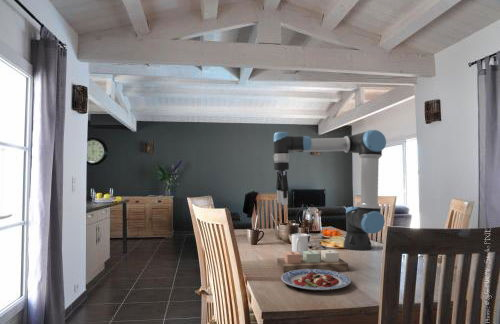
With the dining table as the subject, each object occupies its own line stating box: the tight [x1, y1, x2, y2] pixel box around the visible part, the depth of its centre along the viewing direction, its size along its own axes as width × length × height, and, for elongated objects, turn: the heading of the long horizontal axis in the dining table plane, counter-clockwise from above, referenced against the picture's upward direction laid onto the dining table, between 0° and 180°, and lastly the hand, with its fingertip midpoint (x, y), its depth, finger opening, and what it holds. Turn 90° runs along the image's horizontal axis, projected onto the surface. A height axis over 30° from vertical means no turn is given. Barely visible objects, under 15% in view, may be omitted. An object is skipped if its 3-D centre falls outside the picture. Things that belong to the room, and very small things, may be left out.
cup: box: [291, 233, 309, 257], centre depth 177 cm, size 8×12×10 cm
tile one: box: [320, 249, 340, 262], centre depth 153 cm, size 6×6×4 cm
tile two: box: [302, 250, 321, 263], centre depth 152 cm, size 6×6×4 cm
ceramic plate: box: [280, 269, 352, 291], centre depth 130 cm, size 26×26×3 cm
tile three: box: [283, 251, 302, 264], centre depth 151 cm, size 6×6×4 cm
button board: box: [276, 256, 349, 274], centre depth 152 cm, size 28×14×3 cm, turn 96°
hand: (282, 203), depth 175 cm, fingers open, 13 cm apart
